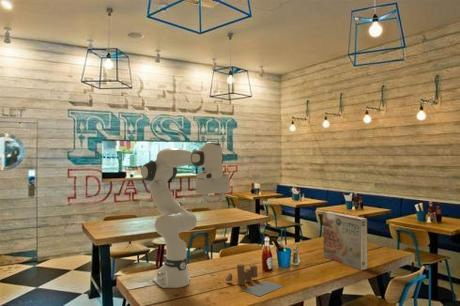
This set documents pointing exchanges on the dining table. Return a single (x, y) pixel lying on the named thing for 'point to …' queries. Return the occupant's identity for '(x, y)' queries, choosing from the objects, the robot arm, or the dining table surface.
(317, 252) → the dining table surface
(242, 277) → the wooden block set
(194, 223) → the robot arm
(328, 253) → the pizza box
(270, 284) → the mat
